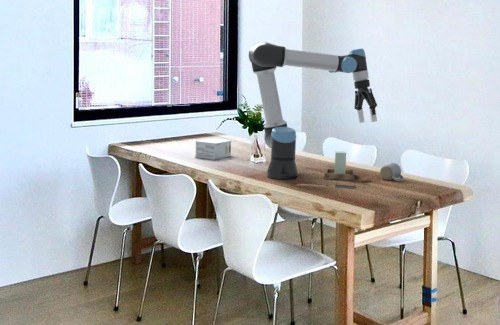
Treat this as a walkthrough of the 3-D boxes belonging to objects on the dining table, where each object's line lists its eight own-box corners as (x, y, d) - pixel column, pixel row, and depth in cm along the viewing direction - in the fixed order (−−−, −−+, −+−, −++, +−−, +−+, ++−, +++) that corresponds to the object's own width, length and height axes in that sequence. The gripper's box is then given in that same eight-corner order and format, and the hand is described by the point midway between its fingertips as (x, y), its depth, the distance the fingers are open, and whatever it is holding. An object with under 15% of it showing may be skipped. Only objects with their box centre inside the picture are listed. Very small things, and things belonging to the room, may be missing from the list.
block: (334, 177, 324) (335, 152, 322) (334, 175, 329) (335, 151, 327) (345, 178, 323) (346, 153, 321) (345, 176, 328) (346, 151, 326)
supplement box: (214, 160, 373) (215, 143, 371) (195, 157, 379) (195, 141, 378) (231, 156, 387) (231, 139, 385) (212, 153, 394) (212, 137, 392)
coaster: (334, 187, 306) (335, 186, 306) (335, 183, 314) (335, 182, 314) (355, 188, 304) (355, 187, 304) (355, 184, 313) (355, 183, 313)
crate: (324, 180, 320) (324, 173, 320) (325, 175, 334) (326, 168, 333) (354, 182, 318) (354, 175, 318) (354, 177, 332) (354, 169, 331)
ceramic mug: (378, 179, 327) (379, 163, 326) (387, 177, 334) (388, 161, 332) (397, 183, 321) (399, 167, 319) (406, 180, 327) (407, 165, 325)
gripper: (379, 76, 329) (386, 119, 330) (357, 81, 352) (363, 121, 354) (366, 78, 326) (372, 122, 328) (344, 83, 350) (350, 124, 352)
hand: (368, 122), depth 341 cm, fingers open, 13 cm apart
